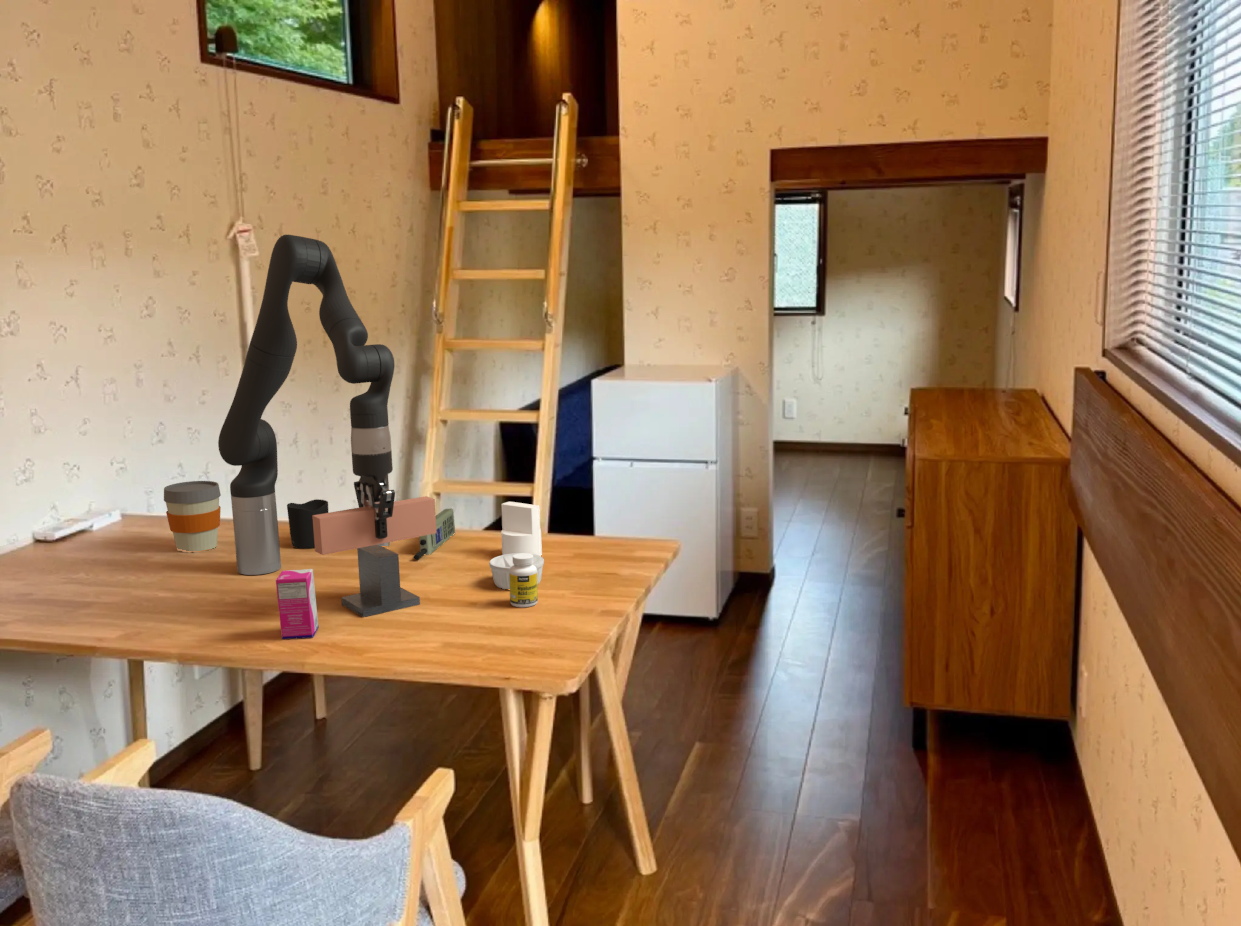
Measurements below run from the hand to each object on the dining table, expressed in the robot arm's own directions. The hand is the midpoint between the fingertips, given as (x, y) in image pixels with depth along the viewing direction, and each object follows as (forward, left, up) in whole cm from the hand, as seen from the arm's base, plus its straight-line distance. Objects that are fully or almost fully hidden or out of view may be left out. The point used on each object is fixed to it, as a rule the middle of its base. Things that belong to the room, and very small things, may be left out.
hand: (377, 535), depth 215 cm
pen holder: (-53, +7, -14) cm, 55 cm away
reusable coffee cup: (-68, -15, -14) cm, 71 cm away
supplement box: (+6, -19, -14) cm, 24 cm away
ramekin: (+6, +28, -14) cm, 32 cm away
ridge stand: (0, 0, -14) cm, 14 cm away
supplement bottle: (+18, +22, -14) cm, 32 cm away
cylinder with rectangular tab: (-11, +40, -14) cm, 44 cm away
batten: (0, 0, -1) cm, 1 cm away
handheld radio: (-31, +28, -15) cm, 45 cm away
